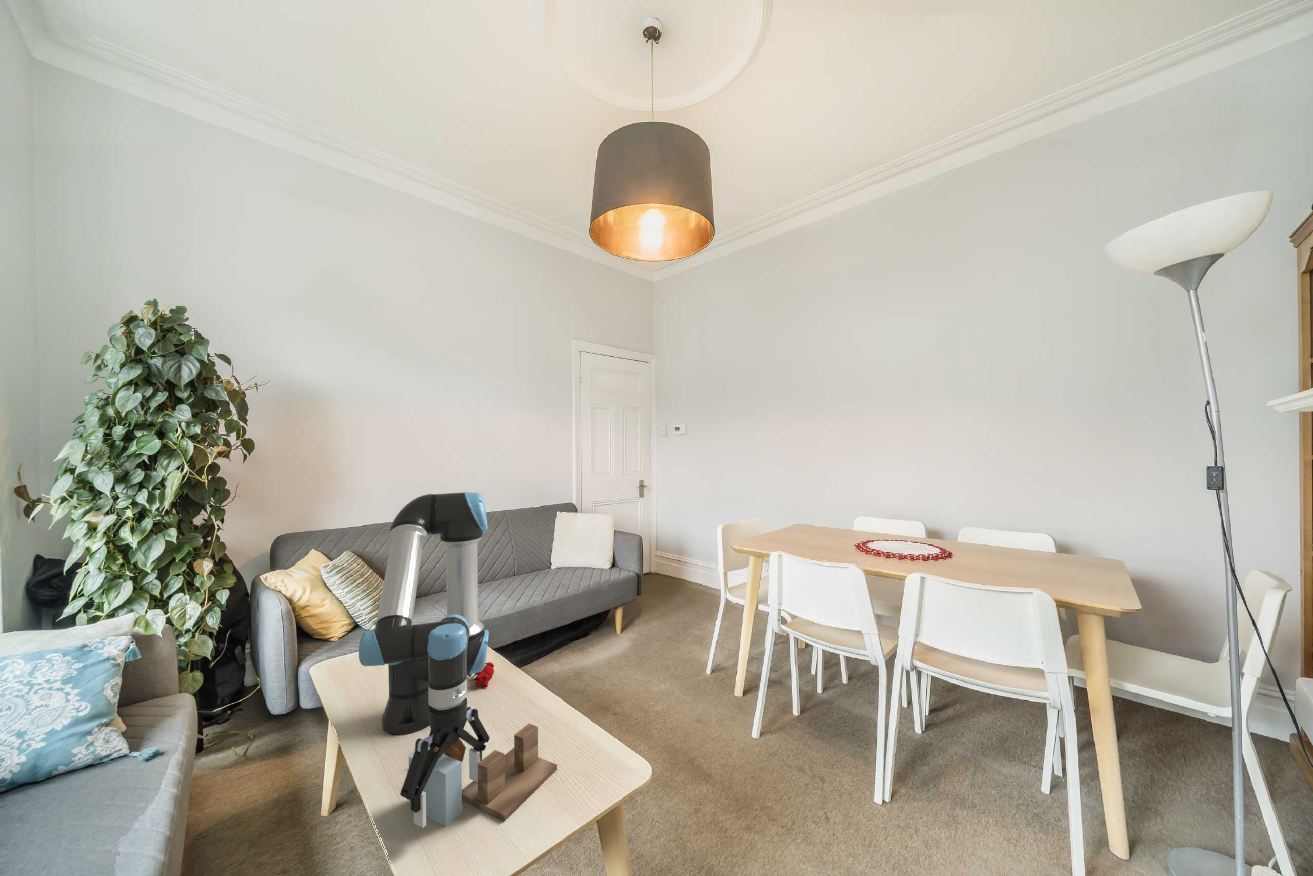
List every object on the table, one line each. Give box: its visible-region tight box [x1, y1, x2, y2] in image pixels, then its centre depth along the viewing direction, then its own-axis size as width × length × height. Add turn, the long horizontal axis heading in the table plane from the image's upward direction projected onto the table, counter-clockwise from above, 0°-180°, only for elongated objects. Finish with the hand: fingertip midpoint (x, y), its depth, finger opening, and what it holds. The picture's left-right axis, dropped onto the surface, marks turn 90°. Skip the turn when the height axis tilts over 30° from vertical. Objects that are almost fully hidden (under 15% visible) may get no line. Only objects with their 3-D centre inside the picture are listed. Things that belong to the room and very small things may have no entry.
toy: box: [434, 738, 467, 764], centre depth 117 cm, size 10×7×15 cm
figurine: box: [467, 661, 495, 688], centre depth 155 cm, size 6×8×15 cm
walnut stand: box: [462, 723, 558, 822], centre depth 109 cm, size 14×17×9 cm
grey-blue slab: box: [408, 750, 463, 827], centre depth 101 cm, size 12×4×11 cm, turn 63°
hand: (449, 800), depth 99 cm, fingers open, 13 cm apart
